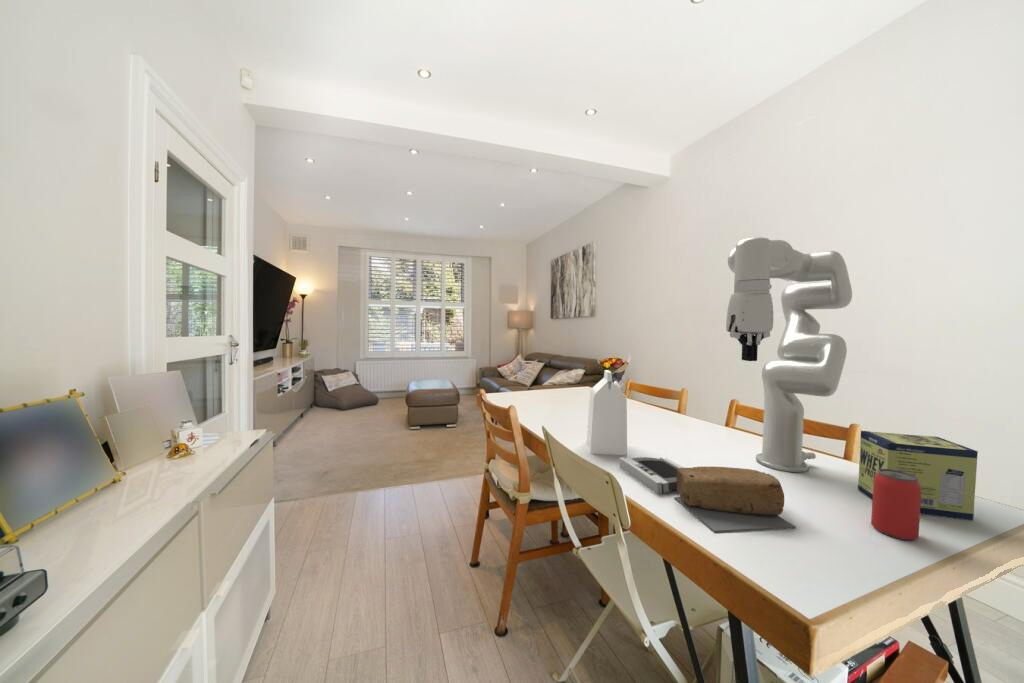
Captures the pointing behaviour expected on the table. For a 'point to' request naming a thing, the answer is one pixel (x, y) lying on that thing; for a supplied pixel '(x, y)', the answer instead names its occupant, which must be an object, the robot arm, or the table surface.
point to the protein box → (923, 470)
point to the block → (730, 490)
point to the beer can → (896, 504)
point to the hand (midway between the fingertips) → (749, 360)
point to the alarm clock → (652, 472)
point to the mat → (735, 519)
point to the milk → (607, 418)
